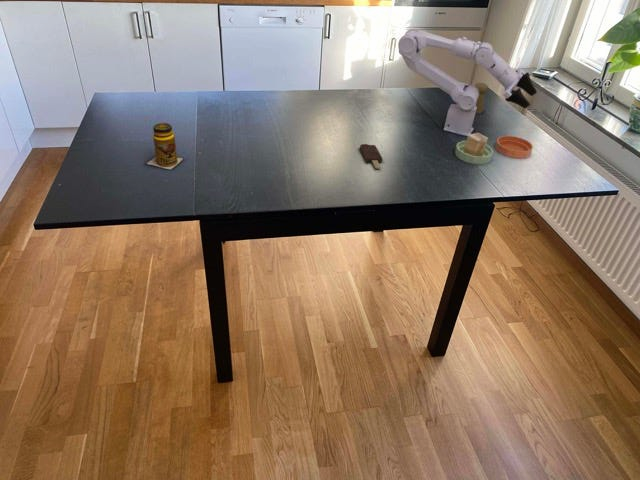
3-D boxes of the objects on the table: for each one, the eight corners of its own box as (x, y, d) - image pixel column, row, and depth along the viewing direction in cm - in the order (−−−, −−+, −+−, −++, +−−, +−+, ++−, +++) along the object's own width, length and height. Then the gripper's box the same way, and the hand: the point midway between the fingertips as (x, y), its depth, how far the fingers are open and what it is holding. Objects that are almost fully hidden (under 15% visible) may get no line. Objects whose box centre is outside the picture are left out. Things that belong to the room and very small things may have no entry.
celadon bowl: (450, 158, 168) (452, 150, 166) (459, 145, 176) (461, 137, 175) (486, 168, 164) (488, 160, 162) (493, 154, 172) (496, 146, 171)
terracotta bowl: (491, 153, 173) (493, 145, 171) (498, 140, 181) (500, 132, 179) (526, 163, 169) (529, 155, 167) (532, 149, 177) (535, 141, 175)
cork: (482, 114, 199) (490, 87, 192) (467, 112, 200) (474, 85, 193) (482, 108, 204) (489, 82, 197) (467, 106, 205) (473, 80, 198)
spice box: (473, 159, 167) (478, 140, 163) (463, 153, 170) (468, 134, 166) (482, 157, 169) (488, 137, 165) (472, 151, 172) (477, 132, 168)
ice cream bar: (386, 170, 159) (373, 148, 171) (386, 165, 158) (374, 143, 170) (369, 170, 158) (358, 148, 170) (370, 166, 157) (359, 144, 169)
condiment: (171, 170, 151) (166, 133, 144) (146, 164, 153) (140, 127, 146) (183, 159, 157) (179, 123, 149) (159, 153, 158) (154, 118, 151)
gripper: (504, 77, 163) (533, 105, 164) (518, 54, 170) (546, 81, 172) (488, 89, 169) (517, 117, 170) (503, 66, 176) (530, 93, 178)
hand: (531, 100), depth 171 cm, fingers open, 7 cm apart
